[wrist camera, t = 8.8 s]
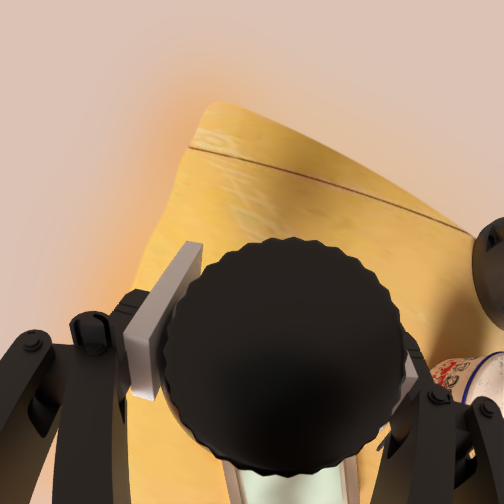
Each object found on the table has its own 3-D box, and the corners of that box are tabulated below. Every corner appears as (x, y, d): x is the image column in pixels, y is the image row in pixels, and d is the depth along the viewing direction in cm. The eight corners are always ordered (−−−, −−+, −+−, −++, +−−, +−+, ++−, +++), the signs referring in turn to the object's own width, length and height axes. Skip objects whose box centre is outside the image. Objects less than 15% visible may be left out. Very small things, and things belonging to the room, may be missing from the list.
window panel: (323, 293, 31) (328, 289, 29) (354, 502, 24) (360, 509, 22) (200, 311, 30) (197, 308, 28) (238, 525, 23) (238, 534, 21)
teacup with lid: (450, 339, 29) (523, 325, 18) (485, 390, 27) (555, 390, 16) (379, 421, 27) (442, 446, 16) (421, 469, 25) (485, 499, 13)
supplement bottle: (235, 281, 18) (231, 143, 7) (339, 339, 17) (480, 286, 6) (172, 382, 16) (54, 402, 5) (279, 443, 15) (347, 556, 4)
